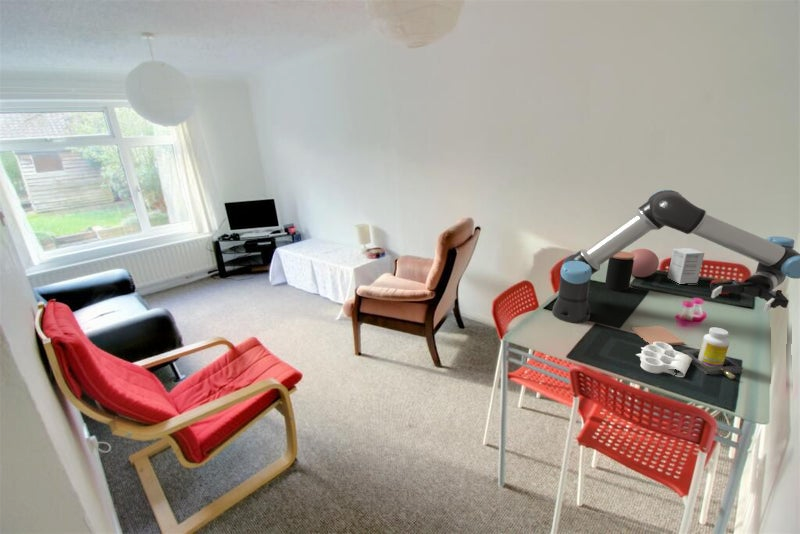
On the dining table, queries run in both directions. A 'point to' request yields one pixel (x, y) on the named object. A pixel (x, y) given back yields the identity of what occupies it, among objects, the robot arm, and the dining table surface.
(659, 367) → the knuckle duster
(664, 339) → the terracotta tile
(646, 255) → the balloon
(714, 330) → the supplement bottle
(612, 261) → the coffee jar
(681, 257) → the supplement box
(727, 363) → the dark gray square frame
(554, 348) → the dining table surface
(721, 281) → the apple
